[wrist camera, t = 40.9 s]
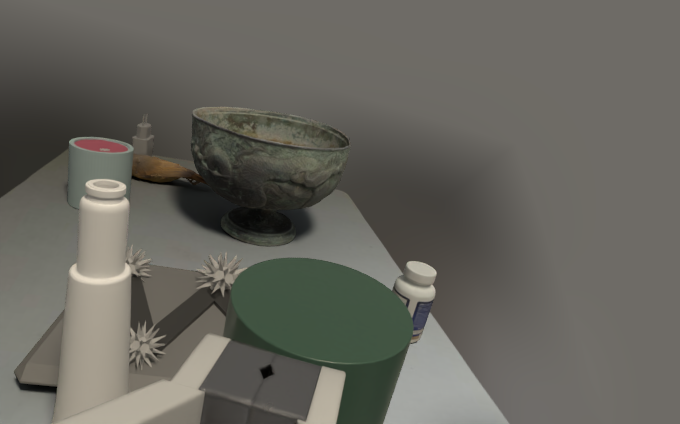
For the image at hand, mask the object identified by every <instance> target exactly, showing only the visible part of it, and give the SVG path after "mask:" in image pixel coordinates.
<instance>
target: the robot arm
mask: <svg viewBox="0 0 680 424" xmlns="http://www.w3.org/2000/svg"><path fill="white" fill-rule="evenodd" d="M320 370H321V371H320ZM319 374H320V375H319ZM345 376H346V374H345V372H344V371H340V370H337V369H333V368H329V367H325V366H322V368H321V366H318V365H315V364H311V363H308V362H304V361H301V360H297V359H294V358H290V357H287V356H283V355H280V354H277V353H274V352H271V351H268V350H265V349H262V348H258V347H255V346H252V345H249V344H246V343H243V342H239V341H236V340H231V339H229V338H226V337H223V336H219V335H216V334H213V333H209V334H207V335H205V336H204V337H203V339H202V340H201V341H200V342H199V344H198V345H197V346H196V348H195V349H194V350H193V352H192V353H191V354H190V356H189V357H188V358H187V360H186V361H185V362H184V363H183V365H182V366H181V367H180V369H179V370H178V371H177V373H176V374H175V375H174V377H173V378H172V379H171V381H168V380H164V379H162V380H160V381H157V382H155V383H152V384H150V385H147V386H145V387H142V388H140V389H137V390H135V391H132V392H130V393H127V394H125V395H122V396H120V397H117V398H115V399H112V400H110V401H107V402H105V403H102V404H100V405H97V406H95V407H92V408H90V409H87V410H85V411H82V412H80V413H77V414H75V415H72V416H70V417H67V418H65V419H62V420H60V421H57V422H55V423H52V424H336V422H337V417H338V412H339V407H340V402H341V397H342V392H343V387H344V382H345Z"/></svg>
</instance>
